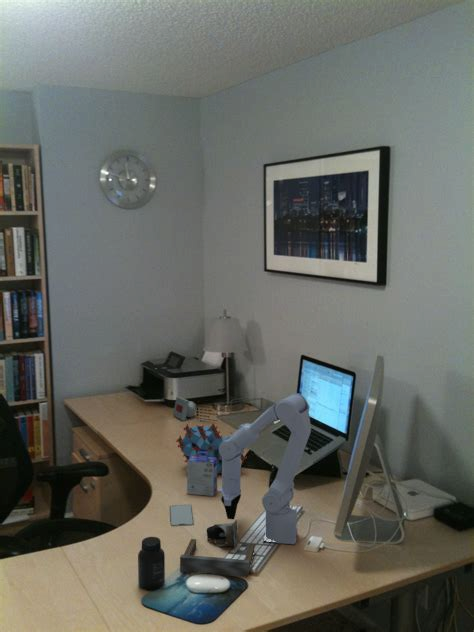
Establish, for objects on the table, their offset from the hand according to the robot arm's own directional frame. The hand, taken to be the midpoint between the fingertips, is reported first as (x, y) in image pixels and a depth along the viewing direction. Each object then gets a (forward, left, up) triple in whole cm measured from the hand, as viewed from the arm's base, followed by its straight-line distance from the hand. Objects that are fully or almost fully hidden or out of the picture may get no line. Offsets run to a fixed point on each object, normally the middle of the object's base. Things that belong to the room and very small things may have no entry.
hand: (231, 518), depth 201 cm
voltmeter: (+35, -107, -3) cm, 112 cm away
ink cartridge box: (+14, -24, -3) cm, 28 cm away
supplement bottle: (+15, +36, -3) cm, 39 cm away
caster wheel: (+1, +10, -3) cm, 11 cm away
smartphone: (+17, -5, -3) cm, 18 cm away
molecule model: (+15, -45, -3) cm, 47 cm away
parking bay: (0, +21, -2) cm, 22 cm away
